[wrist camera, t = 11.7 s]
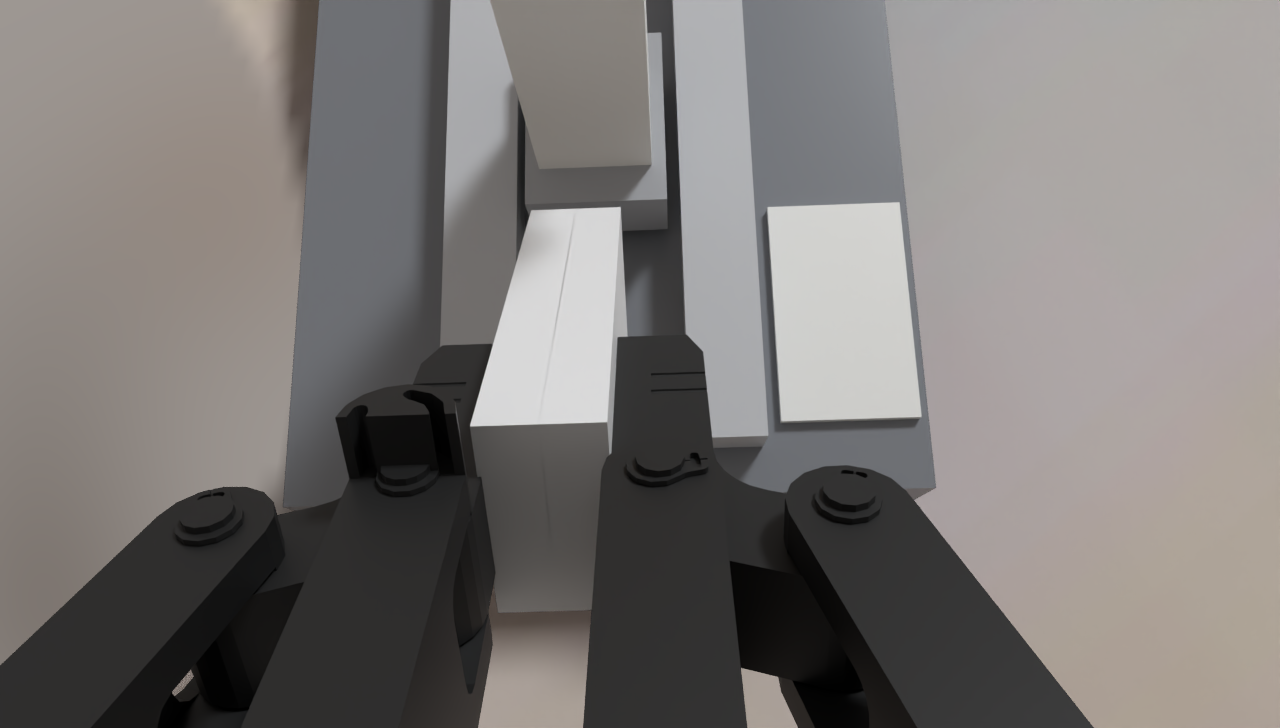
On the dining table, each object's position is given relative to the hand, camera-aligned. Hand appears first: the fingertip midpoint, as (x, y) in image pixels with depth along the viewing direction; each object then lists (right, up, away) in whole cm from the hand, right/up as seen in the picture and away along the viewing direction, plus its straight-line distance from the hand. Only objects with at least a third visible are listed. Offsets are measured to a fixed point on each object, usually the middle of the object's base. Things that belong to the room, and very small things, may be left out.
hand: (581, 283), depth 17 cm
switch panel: (0, +8, +10) cm, 13 cm away
